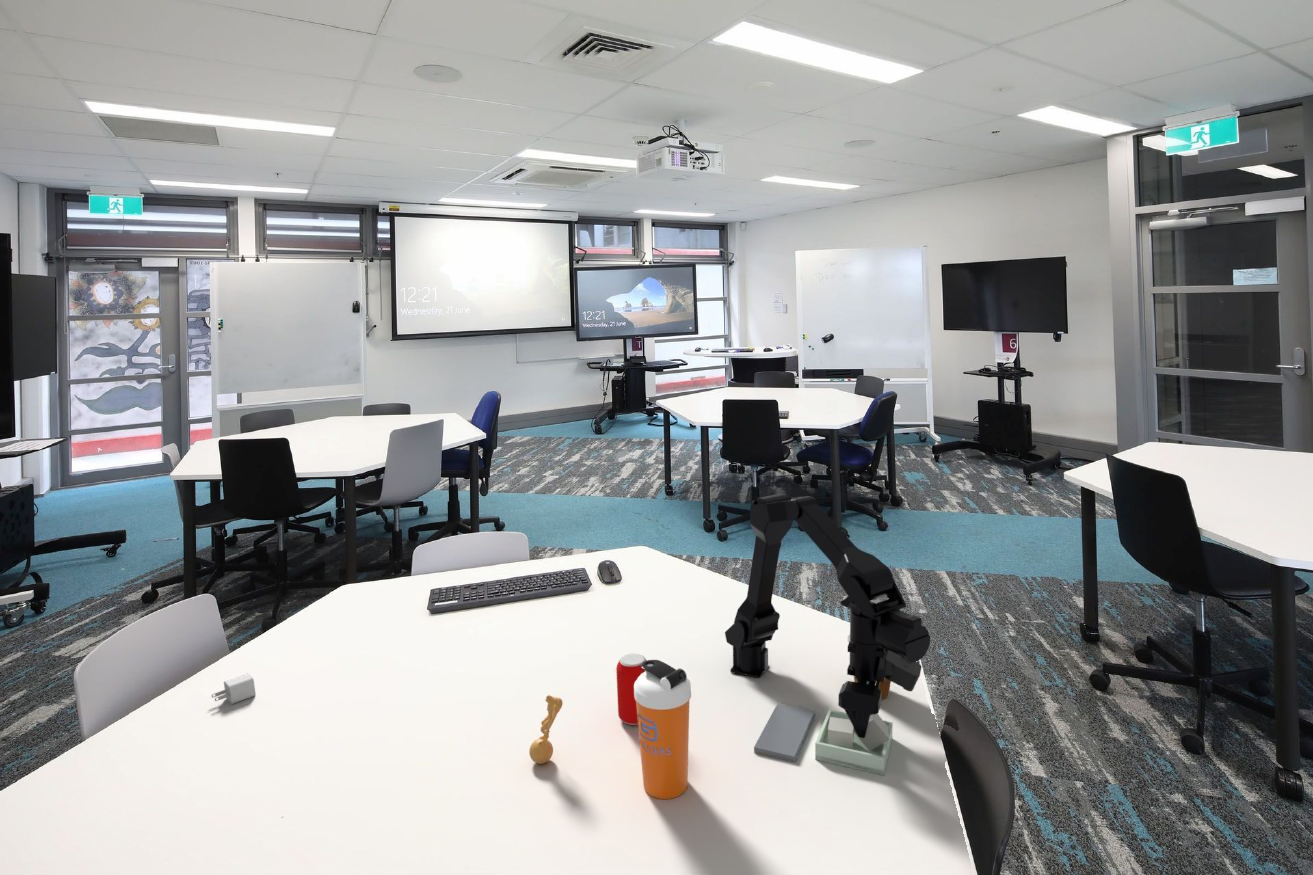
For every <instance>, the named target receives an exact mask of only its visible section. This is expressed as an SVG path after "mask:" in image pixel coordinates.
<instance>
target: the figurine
mask: <svg viewBox="0 0 1313 875" xmlns="http://www.w3.org/2000/svg"><path fill="white" fill-rule="evenodd" d="M545 698H546V699H545V702H546V703H547V708H546V711H547V713H548V714H547V716H545V717H544V718H543V719H542V721H541V723H540V724H541V727H540V732H541V733H542V734H543V735H542V736H540V737H539V738H537V739H535V740H534V741H533V742H532V743H531V745H530V746H529V750H528V751H529V754H528V755H529V757H530V759H531V760H532V762H533V763H535V764H540V765H542V764H546V763H547V762H549V761H550V759H551V758H552V756H553V753H554V746H553V743H552V742H551V741H550V740H549V737H550V730H551V728H552V726H553V724H554V721H555V720H556V717H557V715H558V714H559V713H560V710H561V709H562V707H563V700H562V698H561V697H558V696H553V695H550V694H549V695H548V694H547V695H546V697H545Z"/></svg>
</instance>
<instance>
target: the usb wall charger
mask: <svg viewBox="0 0 1313 875" xmlns="http://www.w3.org/2000/svg"><path fill="white" fill-rule="evenodd" d="M223 685H224V686H223V687H224V689H223V690H220V691H217V692H215V693H212V694H211V698H212V699H213V698H214V702H217V701H222V700H224V699H226V700H227V701H228V703H229V704H230V705H233V704H237V703H239V702H241V701H244V700H248V699H249V698H253V697H256V687H255V686H256V685H255V680H254V677H252V675H251V674H249V673H245V674H241V675H238V676H237V677H234V678H229V679H227V680H225V681H223Z"/></svg>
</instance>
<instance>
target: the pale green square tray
mask: <svg viewBox="0 0 1313 875" xmlns="http://www.w3.org/2000/svg"><path fill="white" fill-rule="evenodd" d="M830 717H835V718H842V719H849V717H848V715H847V713H846V712H845V711H844V712H843V711H838V710H833V709H828V710H827V713H826V716H825V718H824V720H823V723H822V726H821V729H820V731H819V734H818V736H817V738H816V741H815V746H814V747H815V749H814V750H815V753H814V756H815V757H814V758H815V760H816V761H820V762H825V763H829V764H833V765H836V766H837V765H838V766H842V767H846V768H851V769H854V770H858V771H863V772H868V773H872V774H876V775H881V776H885V772H886V767H887V763H888V760H889V754H890V749H891V746H892V740H893V727H894V724H893V723H894V722H892V721H887V720H883V721H884V722H885V724H886V725H887V726H888V731H889V740H887V741H885V742H884V743H882V744H881V745H879V746H877V747H876V748H874V749H872V750H871V751H869V750H868V749H867V747H866V746H865V745H864V744H863V742H862V741H861V740H860V739H859V737H858V736H857V735H856V734H855V733H854V744H853V750H852V749H848V748H843V747H839V746H834V745H830V744H828V726H829V720H830ZM849 720H850V719H849Z"/></svg>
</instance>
